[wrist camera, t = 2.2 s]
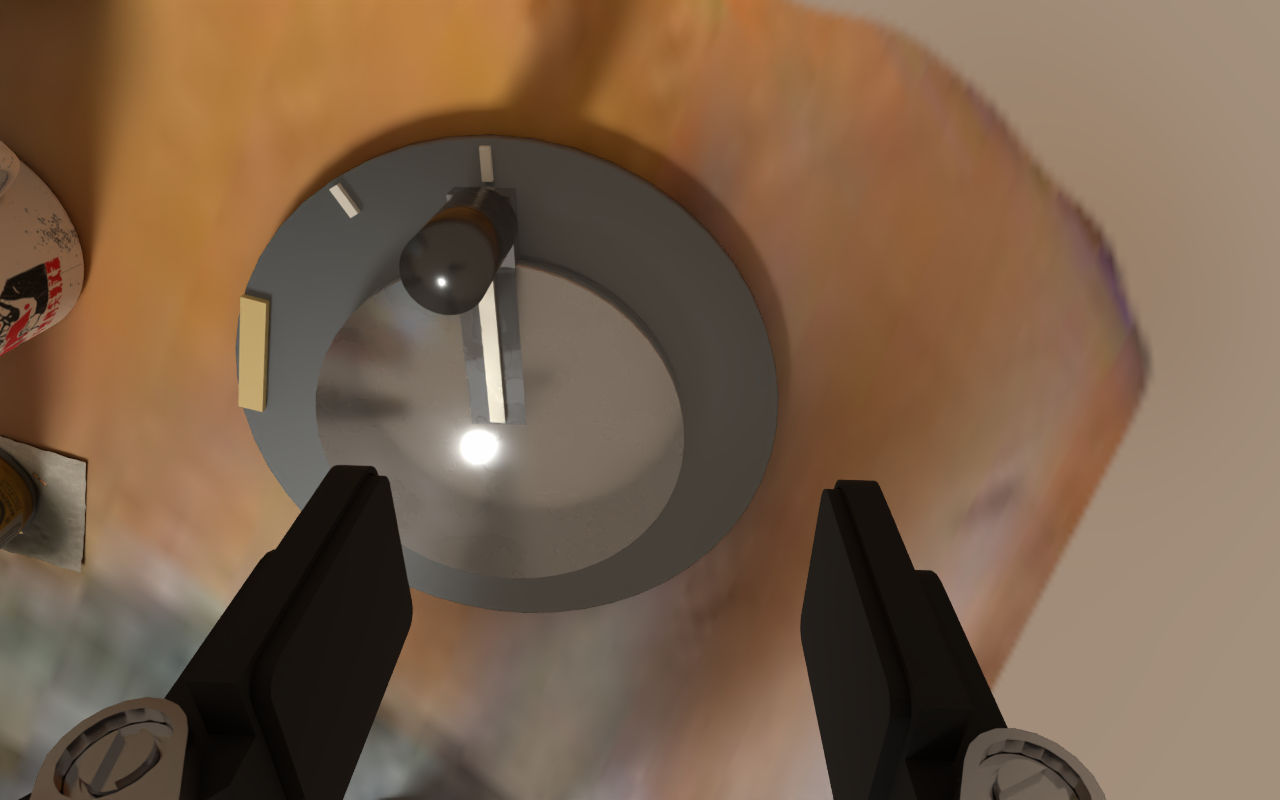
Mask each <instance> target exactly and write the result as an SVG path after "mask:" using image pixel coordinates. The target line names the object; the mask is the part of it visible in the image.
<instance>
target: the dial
mask: <svg viewBox="0 0 1280 800" xmlns="http://www.w3.org/2000/svg"><path fill="white" fill-rule="evenodd" d="M446 197H447V203H446V204H445V205H444V206H443V207H442V208H441V209H440V210H439V211H438V212H437V213H436V214H435V215H434V216H433V217H432V218H431V219H430V220H429V221H428V222H427V223H426V224H425V225H424V226H423V228H422V229H421V230H420V231H419V232H418V233H417V234H416V235H415V236H414V237H413V238H412V239H411V240H410V241H409V242H408V243H407V245H406V246H405V247H404V249H403V251H402V254H401V256H400V261H399V273H400V274H398V275H397V276H395V277H394V278H392V279H391V280H389V281H388V282H387V283H385V284H384V285H382V286H381V287H379V288H378V289H377V290H376V291H375V292H374V293H373V294H372V295H371V296H370V297H369V298H367V299H366V300H365V301H364V302H363V303H362V304H361V305H360V306H359V308H358V309H357V310H356V311H355V312H354V313H353V314H352V315H351V316H350V317H349V319H348V320H347V321H346V322H345V324H344V325H343V326H342V328H341V329H340V330H339V332H338V333H337V334H336V335H335V337H334V339H333V341H332V343H331V345H330V347H329V349H328V350H327V352H326V354H325V357H324V360H323V363H322V366H321V369H320V372H319V377H318V383H317V389H316V420H317V426H318V433H319V437H320V441H321V444H322V447H323V450H324V454H325V456H326V458H327V461H328V463H329V465H330V467H331V468H332V467H333V466H335V465H361V466H373V467H375V468H376V470H377V472H378V475H379V476H386V477H387V478H388V479H389V482H390V486H391V491H392V497H393V502H394V508H395V513H396V518H397V524H398V529H399V535H400V540H401V544H402V545H404V546H405V547H407V548H409V549H410V550H412V551H414V552H416V553H418V554H420V555H422V556H424V557H426V558H428V559H430V560H433V561H436V562H438V563H441V564H443V565H446V566H449V567H452V568H455V569H459V570H462V571H466V572H470V573H474V574H480V575H486V576H491V577H503V578H539V577H547V576H555V575H560V574H564V573H569V572H573V571H577V570H580V569H583V568H585V567H588V566H591V565H594V564H596V563H598V562H600V561H603V560H605V559H607V558H609V557H611V556H613V555H614V554H616V553H618V552H619V551H621V550H622V549H624V548H625V547H627V546H628V545H630V544H631V543H632V542H633V541H635V540H636V539H637V538H638V537H639V536H640V535H642V534H643V533H644V532H645V531H646V530H647V529H648V528H649V526H650V525H651V524H652V523H653V522H654V521H655V520H656V519H657V517H658V516H659V514H660V513H661V511H662V510H663V508H664V507H665V505H666V504H667V502H668V500H669V498H670V496H671V494H672V492H673V490H674V488H675V486H676V483H677V479H678V476H679V472H680V469H681V465H682V458H683V450H684V426H683V405H682V400H681V394H680V389H679V385H678V382H677V379H676V376H675V373H674V370H673V367H672V365H671V363H670V361H669V359H668V357H667V355H666V353H665V351H664V349H663V347H662V345H661V344H660V342H659V341H658V340H657V338H656V337H655V335H654V334H653V332H652V331H651V329H650V328H649V327H648V326H647V325H646V323H645V322H644V321H643V320H642V319H641V318H640V317H639V316H638V315H637V314H636V312H635V311H634V310H633V309H632V308H630V307H629V306H628V305H627V304H626V303H625V302H623V301H622V300H621V299H620V298H619V297H618V296H616V295H615V294H614V293H612V292H611V291H609V290H608V289H606V288H605V287H603V286H602V285H600V284H599V283H597V282H596V281H594V280H592V279H590V278H588V277H586V276H584V275H582V274H580V273H578V272H576V271H574V270H572V269H570V268H567V267H565V266H562V265H559V264H556V263H553V262H550V261H547V260H544V259H539V258H535V257H530V256H525V255H521V254H520V245H519V230H518V215H517V200H516V188H486V187H453V188H452V189H451V190H450V191H449V192H448V193H447V194H446Z"/></svg>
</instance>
